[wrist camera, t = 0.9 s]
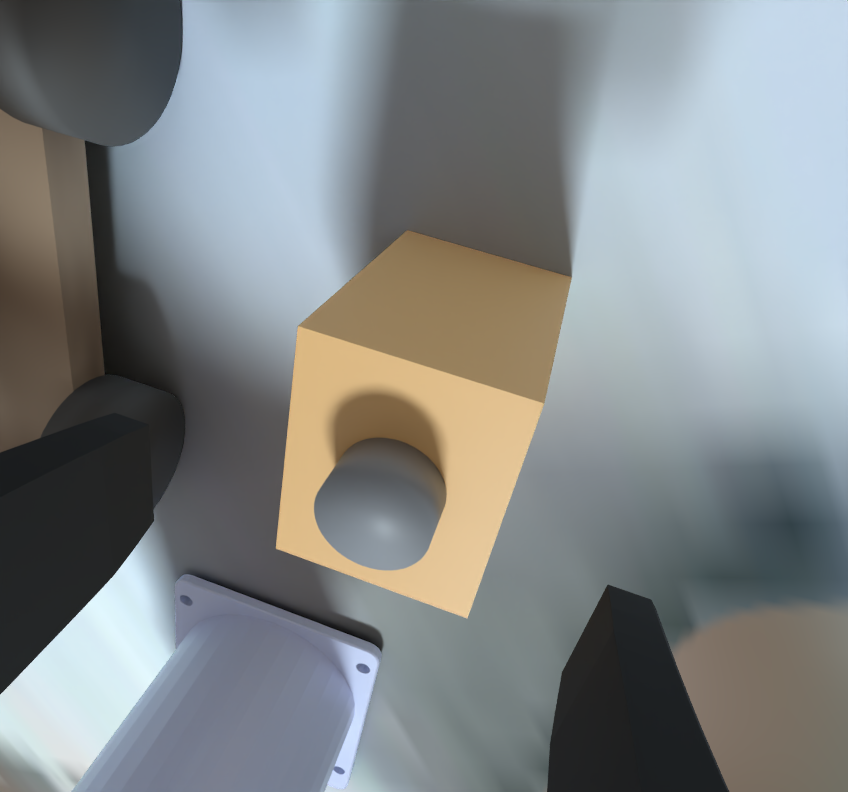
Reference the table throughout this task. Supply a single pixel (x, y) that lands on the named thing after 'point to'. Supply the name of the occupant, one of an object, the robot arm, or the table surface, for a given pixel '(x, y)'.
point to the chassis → (72, 208)
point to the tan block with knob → (417, 416)
